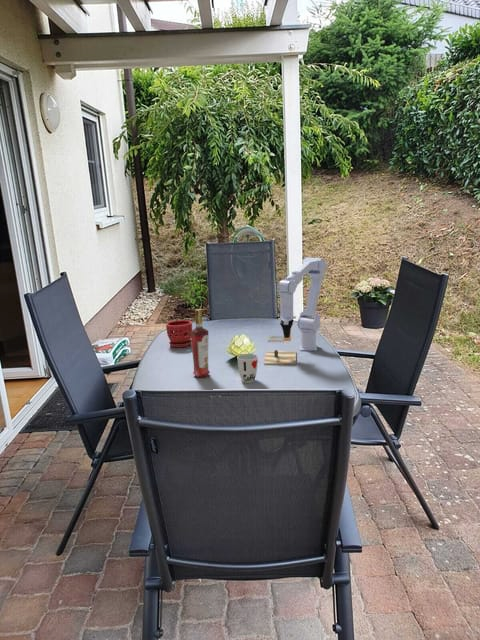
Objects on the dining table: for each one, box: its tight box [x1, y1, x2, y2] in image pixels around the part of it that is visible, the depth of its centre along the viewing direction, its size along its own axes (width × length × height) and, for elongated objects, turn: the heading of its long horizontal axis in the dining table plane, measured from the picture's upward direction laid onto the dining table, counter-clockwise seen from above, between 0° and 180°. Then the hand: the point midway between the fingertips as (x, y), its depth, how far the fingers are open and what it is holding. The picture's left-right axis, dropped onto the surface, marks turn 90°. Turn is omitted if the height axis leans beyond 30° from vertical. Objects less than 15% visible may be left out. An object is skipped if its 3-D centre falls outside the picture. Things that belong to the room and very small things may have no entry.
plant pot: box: [165, 320, 193, 348], centre depth 242 cm, size 13×13×12 cm
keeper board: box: [263, 349, 297, 366], centre depth 217 cm, size 18×14×4 cm
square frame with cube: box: [267, 329, 292, 343], centre depth 215 cm, size 10×7×5 cm
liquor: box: [190, 308, 211, 378], centre depth 195 cm, size 7×7×28 cm
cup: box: [236, 353, 259, 384], centre depth 189 cm, size 8×8×10 cm
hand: (287, 336), depth 214 cm, fingers closed on square frame with cube, 3 cm apart
